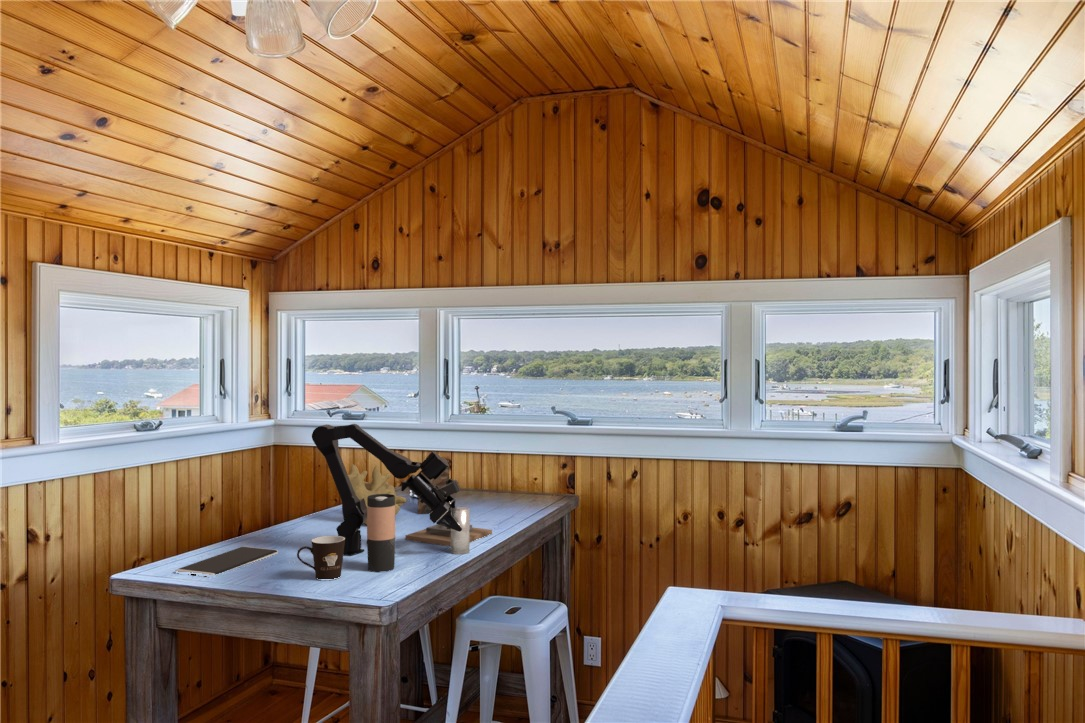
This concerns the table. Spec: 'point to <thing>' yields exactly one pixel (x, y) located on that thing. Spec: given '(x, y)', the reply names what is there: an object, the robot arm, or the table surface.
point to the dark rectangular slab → (228, 560)
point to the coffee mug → (326, 556)
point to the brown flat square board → (443, 535)
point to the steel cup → (461, 538)
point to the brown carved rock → (439, 482)
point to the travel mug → (381, 532)
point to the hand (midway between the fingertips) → (462, 527)
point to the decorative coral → (373, 486)
